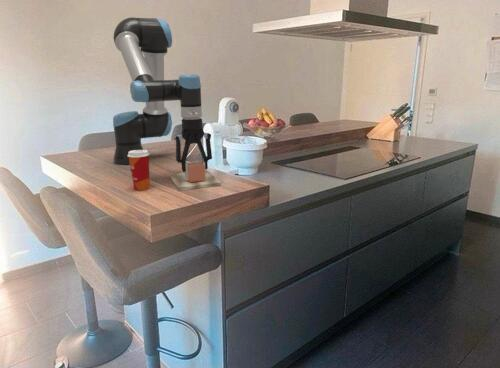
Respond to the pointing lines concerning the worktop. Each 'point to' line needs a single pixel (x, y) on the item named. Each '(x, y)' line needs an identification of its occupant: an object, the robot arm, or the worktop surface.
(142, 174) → the paper cup
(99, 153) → the worktop surface
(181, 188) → the board
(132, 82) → the robot arm
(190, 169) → the reddish orange cube
